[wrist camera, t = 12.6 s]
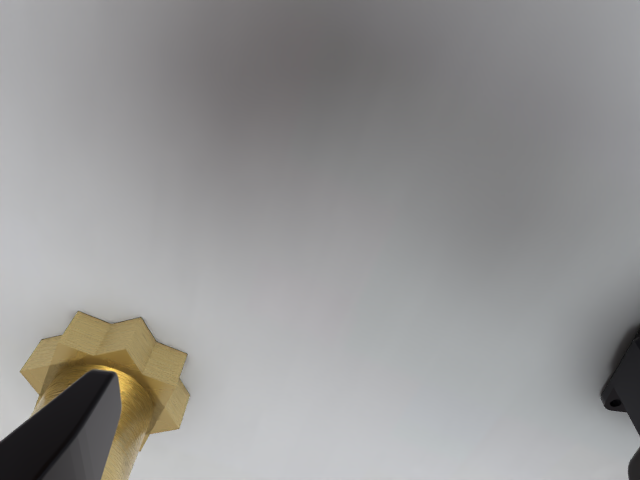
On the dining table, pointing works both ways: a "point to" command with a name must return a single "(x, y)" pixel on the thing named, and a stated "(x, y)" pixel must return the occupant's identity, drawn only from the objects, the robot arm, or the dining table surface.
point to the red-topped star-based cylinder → (133, 372)
